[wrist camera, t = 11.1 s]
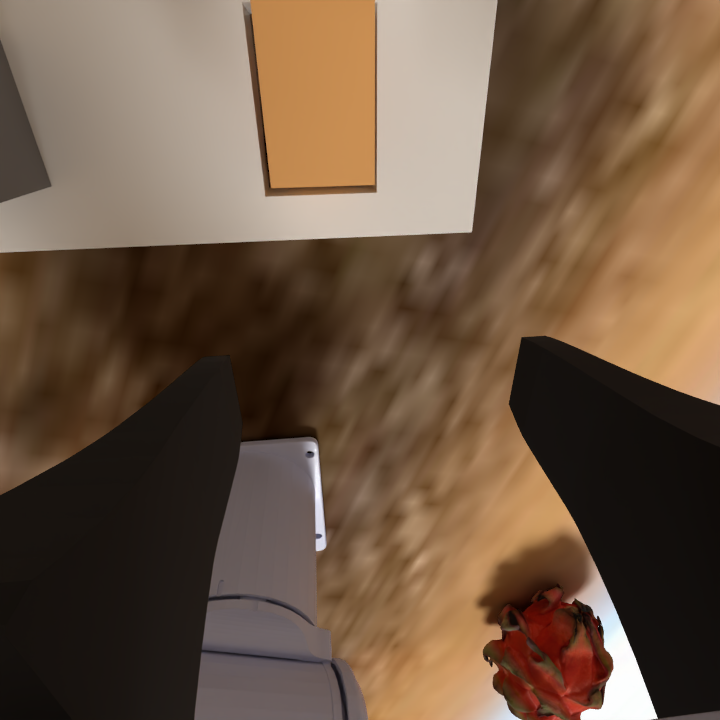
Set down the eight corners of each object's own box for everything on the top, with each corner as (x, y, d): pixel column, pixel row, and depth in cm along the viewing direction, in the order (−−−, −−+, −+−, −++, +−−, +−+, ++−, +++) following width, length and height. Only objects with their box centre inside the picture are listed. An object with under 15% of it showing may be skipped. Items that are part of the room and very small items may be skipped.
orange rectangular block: (356, 161, 18) (374, 184, 13) (282, 163, 18) (270, 188, 13) (353, 24, 16) (374, -15, 11) (269, 25, 16) (248, -15, 10)
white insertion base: (457, 220, 20) (510, 262, 14) (-70, 242, 18) (-224, 298, 13) (482, -49, 15) (572, -128, 10) (-222, -54, 13) (-557, -152, 8)
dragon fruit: (482, 632, 41) (528, 531, 37) (578, 691, 37) (640, 587, 33) (457, 715, 33) (512, 600, 29) (574, 797, 30) (653, 680, 26)
